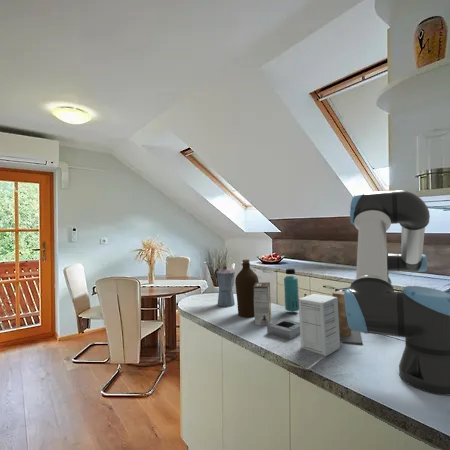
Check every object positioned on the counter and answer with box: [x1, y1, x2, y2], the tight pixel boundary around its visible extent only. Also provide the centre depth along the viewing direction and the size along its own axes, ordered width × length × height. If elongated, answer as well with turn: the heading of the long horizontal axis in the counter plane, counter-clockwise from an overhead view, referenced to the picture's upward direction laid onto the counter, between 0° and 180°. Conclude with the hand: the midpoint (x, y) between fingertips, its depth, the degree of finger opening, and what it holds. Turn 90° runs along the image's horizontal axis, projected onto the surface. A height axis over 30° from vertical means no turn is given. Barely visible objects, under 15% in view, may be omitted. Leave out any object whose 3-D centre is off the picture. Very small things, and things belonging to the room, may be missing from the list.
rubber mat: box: [340, 330, 363, 345], centre depth 114 cm, size 14×12×1 cm
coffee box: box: [253, 281, 272, 326], centre depth 133 cm, size 9×6×16 cm
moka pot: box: [214, 265, 236, 307], centre depth 164 cm, size 10×15×20 cm, turn 42°
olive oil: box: [234, 259, 260, 318], centre depth 145 cm, size 11×11×25 cm
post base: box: [266, 318, 300, 341], centre depth 119 cm, size 10×10×4 cm
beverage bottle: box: [283, 268, 300, 312], centre depth 145 cm, size 6×7×20 cm
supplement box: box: [298, 293, 341, 357], centre depth 104 cm, size 10×9×17 cm
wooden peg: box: [332, 291, 351, 337], centre depth 114 cm, size 4×4×15 cm
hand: (351, 299), depth 121 cm, fingers open, 13 cm apart
